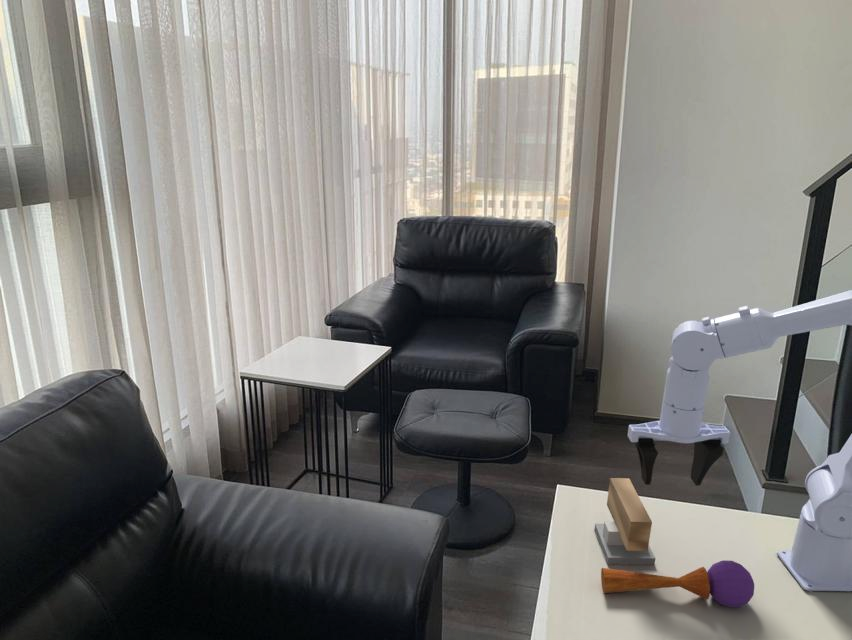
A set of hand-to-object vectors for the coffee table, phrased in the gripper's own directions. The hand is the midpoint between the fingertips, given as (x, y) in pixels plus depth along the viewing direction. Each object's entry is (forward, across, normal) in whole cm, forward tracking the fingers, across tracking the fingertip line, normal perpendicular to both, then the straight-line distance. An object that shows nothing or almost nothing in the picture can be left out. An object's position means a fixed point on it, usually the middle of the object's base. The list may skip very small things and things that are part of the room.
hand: (670, 481), depth 98 cm
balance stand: (+10, +7, +3) cm, 12 cm away
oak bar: (+6, +7, +3) cm, 10 cm away
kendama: (+10, +3, +13) cm, 17 cm away
